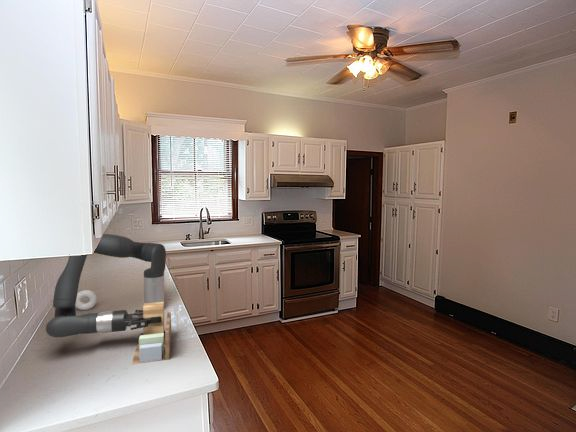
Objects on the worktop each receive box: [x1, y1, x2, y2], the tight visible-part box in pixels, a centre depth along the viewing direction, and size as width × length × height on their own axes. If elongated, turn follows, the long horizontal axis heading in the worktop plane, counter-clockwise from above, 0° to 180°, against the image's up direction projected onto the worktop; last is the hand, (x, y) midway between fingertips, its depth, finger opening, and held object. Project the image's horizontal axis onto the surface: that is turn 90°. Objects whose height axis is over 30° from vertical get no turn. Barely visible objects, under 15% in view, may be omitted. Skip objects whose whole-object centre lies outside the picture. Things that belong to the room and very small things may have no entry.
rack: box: [131, 311, 172, 365], centre depth 124 cm, size 19×12×11 cm, turn 17°
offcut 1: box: [138, 333, 164, 358], centre depth 120 cm, size 3×8×7 cm, turn 107°
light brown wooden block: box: [142, 301, 165, 335], centre depth 128 cm, size 4×7×15 cm, turn 107°
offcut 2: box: [140, 343, 163, 363], centre depth 117 cm, size 2×7×5 cm, turn 107°
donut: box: [75, 289, 98, 311], centre depth 164 cm, size 10×4×10 cm, turn 114°
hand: (161, 317), depth 129 cm, fingers closed on light brown wooden block, 4 cm apart
